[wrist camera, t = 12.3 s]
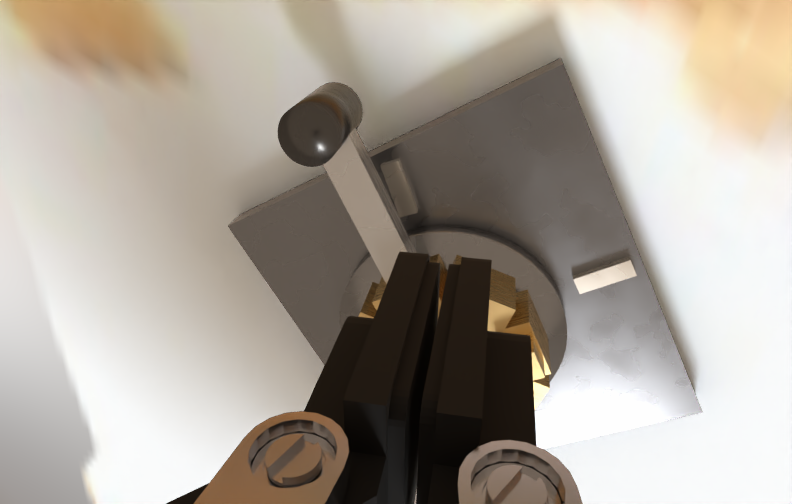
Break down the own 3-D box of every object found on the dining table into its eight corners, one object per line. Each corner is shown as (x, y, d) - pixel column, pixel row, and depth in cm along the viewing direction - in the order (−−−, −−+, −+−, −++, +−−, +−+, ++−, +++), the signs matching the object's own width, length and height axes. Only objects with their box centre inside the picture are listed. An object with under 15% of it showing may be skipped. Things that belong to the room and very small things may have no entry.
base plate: (408, 463, 41) (386, 575, 34) (238, 215, 34) (163, 290, 27) (695, 394, 34) (745, 517, 27) (560, 58, 27) (579, 100, 19)
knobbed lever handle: (567, 382, 32) (575, 442, 28) (405, 418, 36) (393, 475, 32) (422, 37, 25) (406, 54, 21) (237, 126, 28) (193, 154, 25)
